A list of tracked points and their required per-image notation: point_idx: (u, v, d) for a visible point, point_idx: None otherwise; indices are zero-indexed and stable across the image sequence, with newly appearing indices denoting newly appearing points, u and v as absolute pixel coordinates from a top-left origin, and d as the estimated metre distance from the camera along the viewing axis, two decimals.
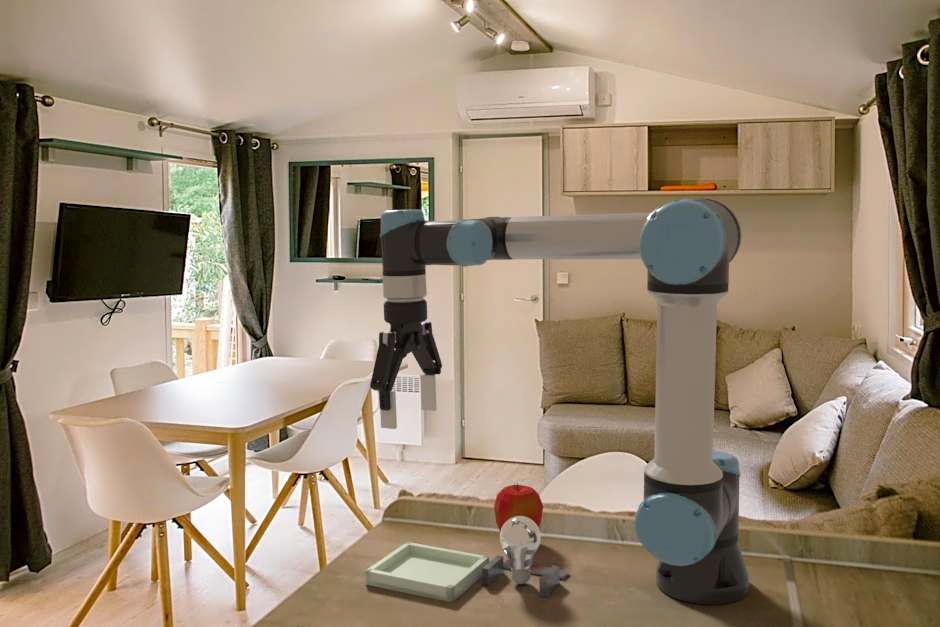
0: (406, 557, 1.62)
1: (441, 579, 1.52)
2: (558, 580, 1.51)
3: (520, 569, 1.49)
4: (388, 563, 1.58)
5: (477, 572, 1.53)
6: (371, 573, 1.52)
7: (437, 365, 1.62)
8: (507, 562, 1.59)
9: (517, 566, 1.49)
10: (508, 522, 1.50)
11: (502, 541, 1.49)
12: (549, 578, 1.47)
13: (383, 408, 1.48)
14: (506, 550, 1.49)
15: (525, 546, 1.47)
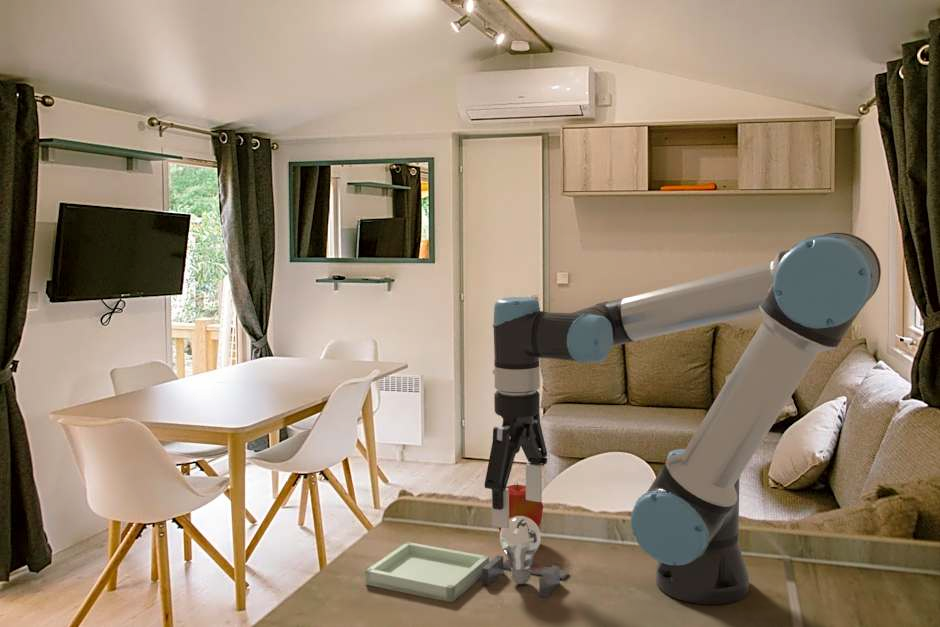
0: (406, 557, 1.62)
1: (441, 579, 1.52)
2: (558, 580, 1.51)
3: (520, 569, 1.49)
4: (388, 563, 1.58)
5: (477, 572, 1.53)
6: (371, 573, 1.52)
7: (543, 454, 1.56)
8: (507, 562, 1.59)
9: (517, 566, 1.49)
10: None
11: (502, 541, 1.49)
12: (549, 578, 1.47)
13: (496, 507, 1.42)
14: (506, 550, 1.49)
15: (525, 546, 1.47)
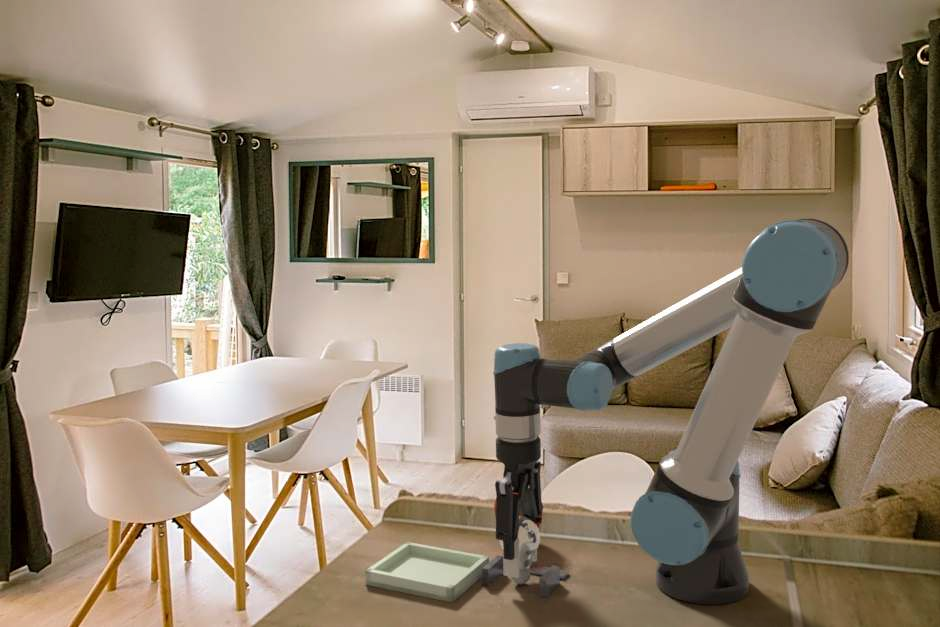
0: (406, 557, 1.62)
1: (441, 579, 1.52)
2: (558, 580, 1.51)
3: (520, 569, 1.49)
4: (388, 563, 1.58)
5: (477, 572, 1.53)
6: (371, 573, 1.52)
7: (538, 511, 1.55)
8: None
9: None
10: None
11: (501, 542, 1.49)
12: (549, 578, 1.47)
13: (507, 557, 1.46)
14: None
15: (525, 547, 1.47)
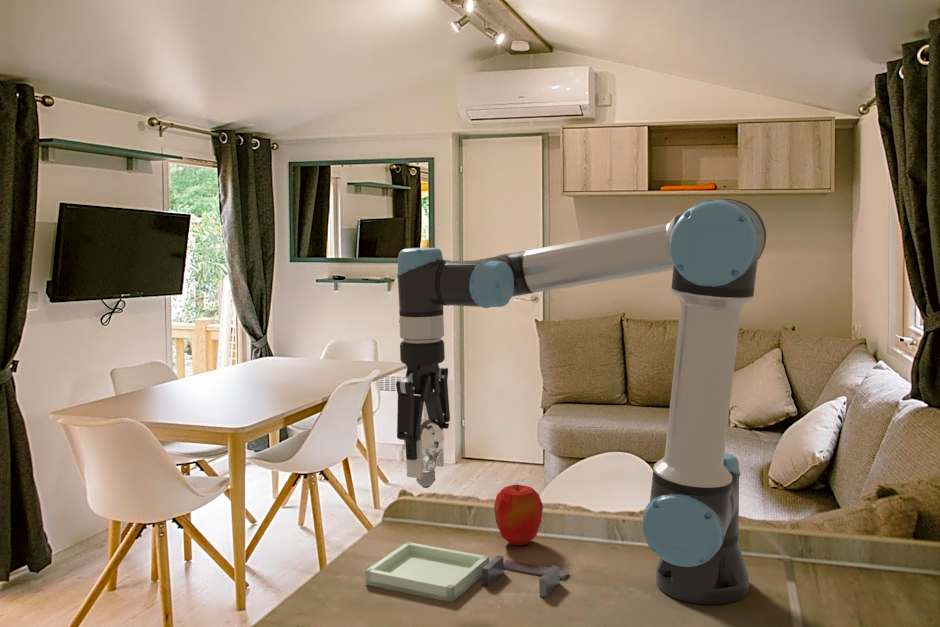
0: (406, 557, 1.62)
1: (441, 579, 1.52)
2: (558, 580, 1.51)
3: (423, 471, 1.51)
4: (388, 563, 1.58)
5: (477, 572, 1.53)
6: (371, 573, 1.52)
7: (445, 417, 1.56)
8: (507, 562, 1.59)
9: None
10: None
11: (405, 443, 1.50)
12: (549, 578, 1.47)
13: (409, 458, 1.48)
14: None
15: (427, 447, 1.49)
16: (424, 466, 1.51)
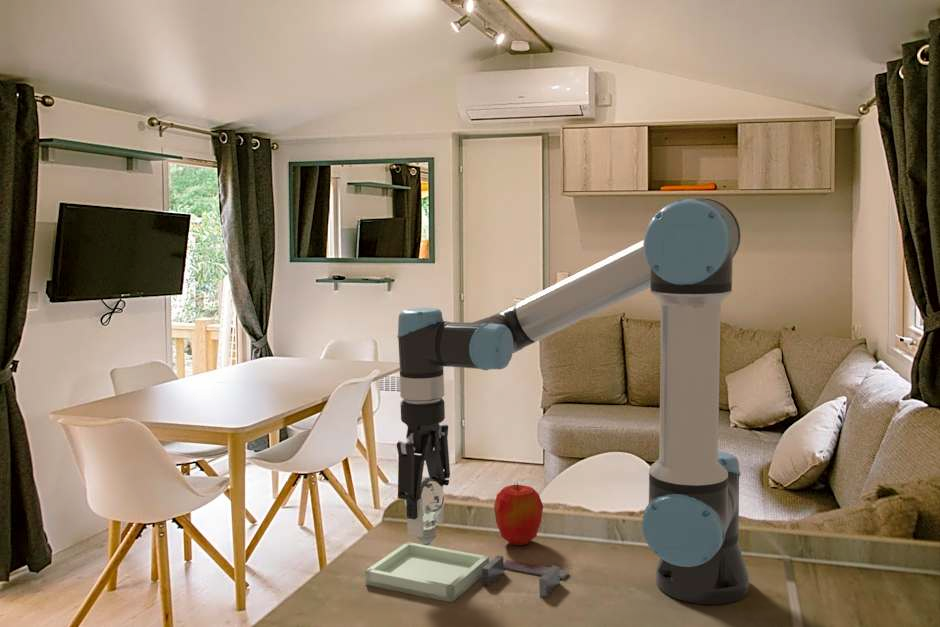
0: (406, 557, 1.62)
1: (441, 579, 1.52)
2: (558, 580, 1.51)
3: (424, 529, 1.52)
4: (388, 563, 1.58)
5: (477, 572, 1.53)
6: (371, 573, 1.52)
7: (445, 473, 1.58)
8: (507, 562, 1.59)
9: None
10: None
11: None
12: (549, 578, 1.47)
13: (410, 517, 1.49)
14: None
15: (428, 506, 1.50)
16: (424, 524, 1.52)
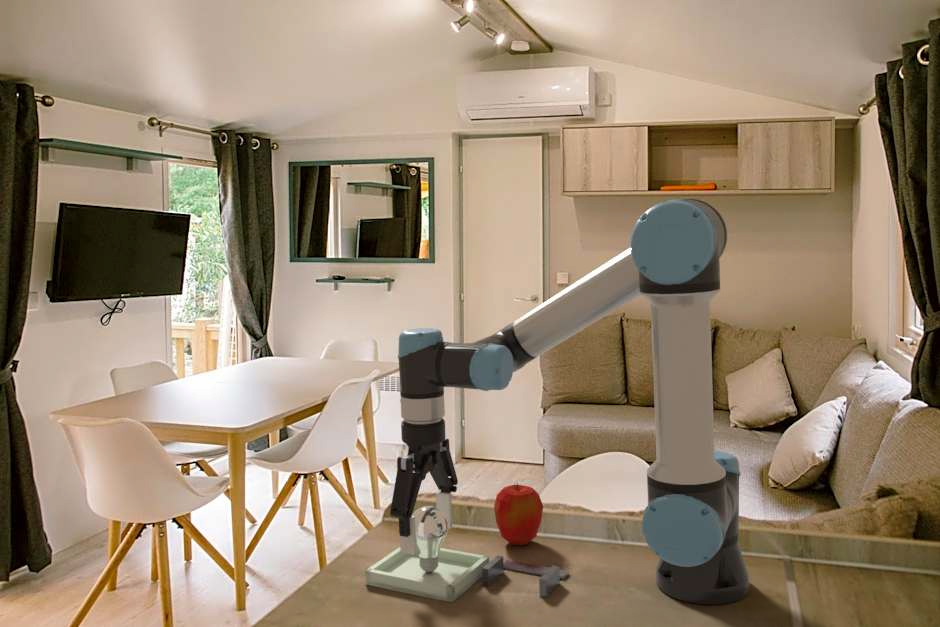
0: (406, 557, 1.62)
1: (441, 579, 1.52)
2: (558, 580, 1.51)
3: (427, 558, 1.53)
4: (388, 563, 1.58)
5: (477, 572, 1.53)
6: (371, 573, 1.52)
7: (453, 482, 1.60)
8: (507, 562, 1.59)
9: (424, 555, 1.53)
10: (416, 512, 1.53)
11: None
12: (549, 578, 1.47)
13: (403, 534, 1.47)
14: None
15: (431, 535, 1.51)
16: (428, 553, 1.53)
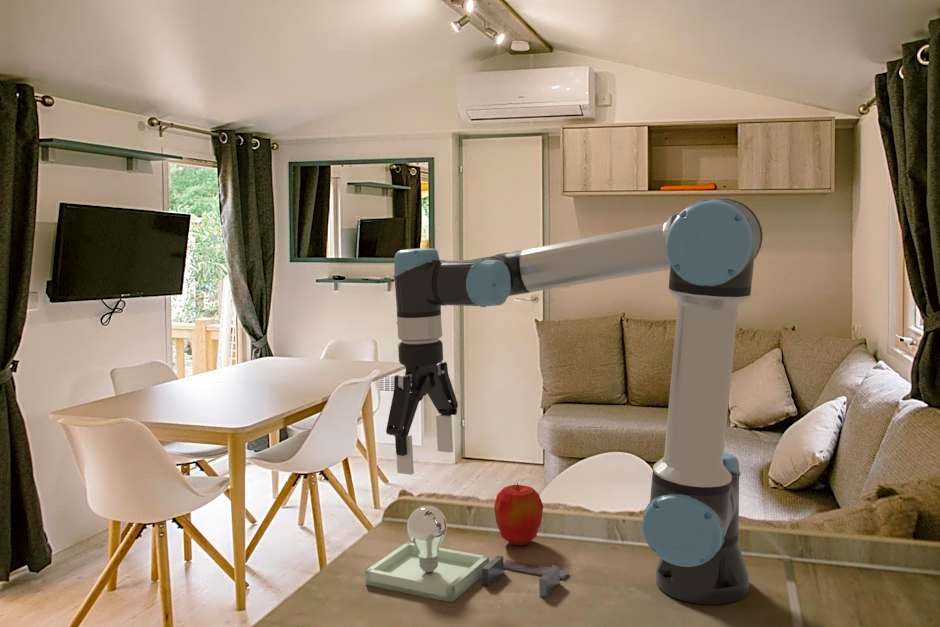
0: (406, 557, 1.62)
1: (441, 579, 1.52)
2: (558, 580, 1.51)
3: (426, 557, 1.53)
4: (388, 563, 1.58)
5: (477, 572, 1.53)
6: (371, 573, 1.52)
7: (453, 405, 1.59)
8: (507, 562, 1.59)
9: (423, 554, 1.53)
10: (414, 512, 1.53)
11: (408, 530, 1.53)
12: (549, 578, 1.47)
13: (399, 453, 1.45)
14: (412, 539, 1.53)
15: (430, 535, 1.51)
16: (427, 552, 1.53)
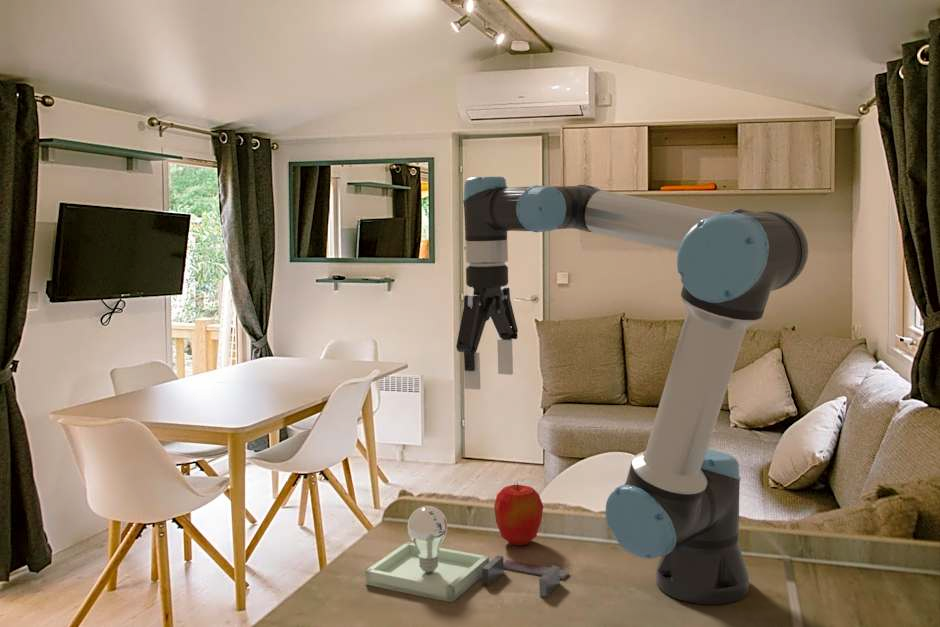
0: (406, 557, 1.62)
1: (441, 579, 1.52)
2: (558, 580, 1.51)
3: (426, 558, 1.53)
4: (388, 563, 1.58)
5: (477, 572, 1.53)
6: (371, 573, 1.52)
7: (513, 330, 1.67)
8: (507, 562, 1.59)
9: (424, 555, 1.53)
10: (415, 512, 1.53)
11: (409, 530, 1.53)
12: (549, 578, 1.47)
13: (468, 369, 1.53)
14: (412, 539, 1.53)
15: (430, 535, 1.51)
16: (427, 553, 1.53)
